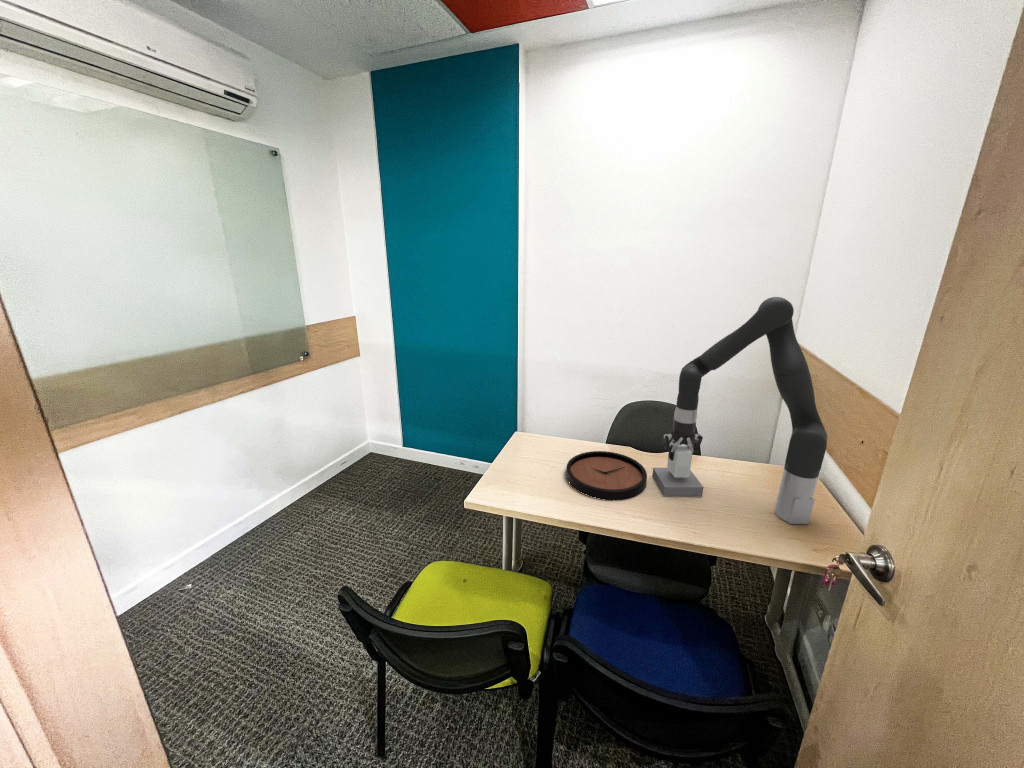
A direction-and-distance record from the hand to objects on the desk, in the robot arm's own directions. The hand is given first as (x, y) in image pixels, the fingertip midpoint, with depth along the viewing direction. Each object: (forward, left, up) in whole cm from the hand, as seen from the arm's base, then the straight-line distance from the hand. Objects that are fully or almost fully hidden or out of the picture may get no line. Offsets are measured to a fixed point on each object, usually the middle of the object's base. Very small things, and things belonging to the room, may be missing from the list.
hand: (679, 459), depth 150 cm
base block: (0, 0, -12) cm, 12 cm away
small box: (0, 0, -6) cm, 6 cm away
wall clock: (+6, +26, -12) cm, 29 cm away
